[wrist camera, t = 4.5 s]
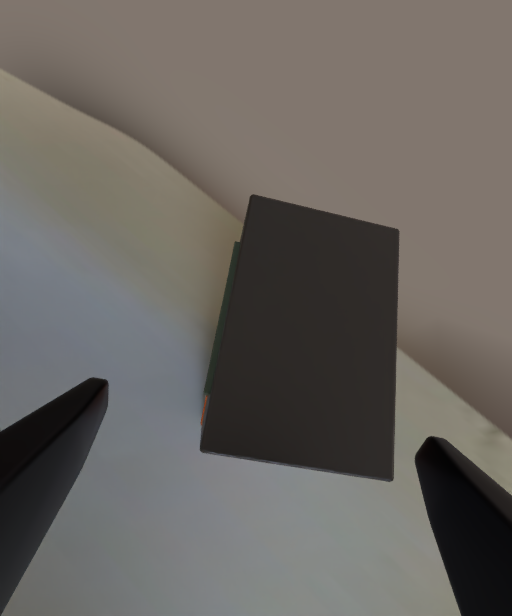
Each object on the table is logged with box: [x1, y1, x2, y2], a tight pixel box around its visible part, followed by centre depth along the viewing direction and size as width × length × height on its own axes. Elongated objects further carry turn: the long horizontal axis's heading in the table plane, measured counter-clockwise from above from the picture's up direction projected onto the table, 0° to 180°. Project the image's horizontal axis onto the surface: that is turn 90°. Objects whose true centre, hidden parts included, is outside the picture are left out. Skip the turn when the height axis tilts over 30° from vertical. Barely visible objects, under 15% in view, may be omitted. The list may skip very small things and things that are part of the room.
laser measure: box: [200, 195, 399, 482], centre depth 12 cm, size 4×6×12 cm
